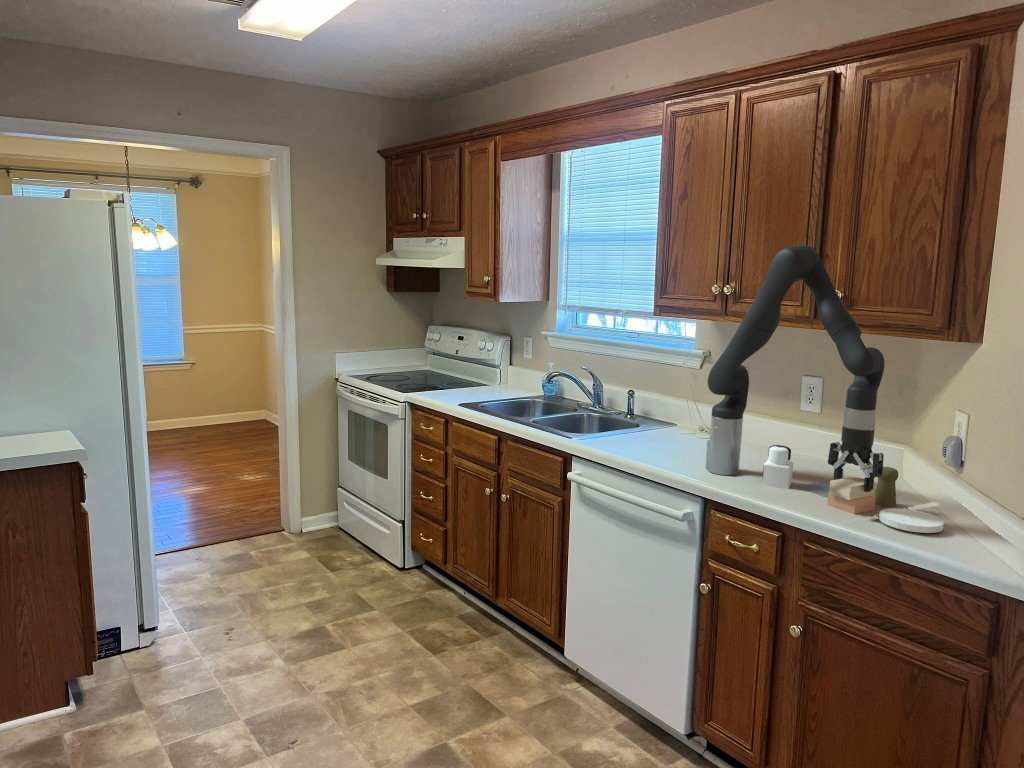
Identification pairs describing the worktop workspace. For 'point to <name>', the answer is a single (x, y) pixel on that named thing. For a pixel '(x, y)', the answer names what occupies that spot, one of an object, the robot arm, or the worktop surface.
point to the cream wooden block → (850, 488)
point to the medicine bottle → (778, 467)
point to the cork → (886, 488)
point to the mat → (816, 488)
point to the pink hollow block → (852, 504)
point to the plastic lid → (911, 520)
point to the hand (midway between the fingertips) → (852, 486)
